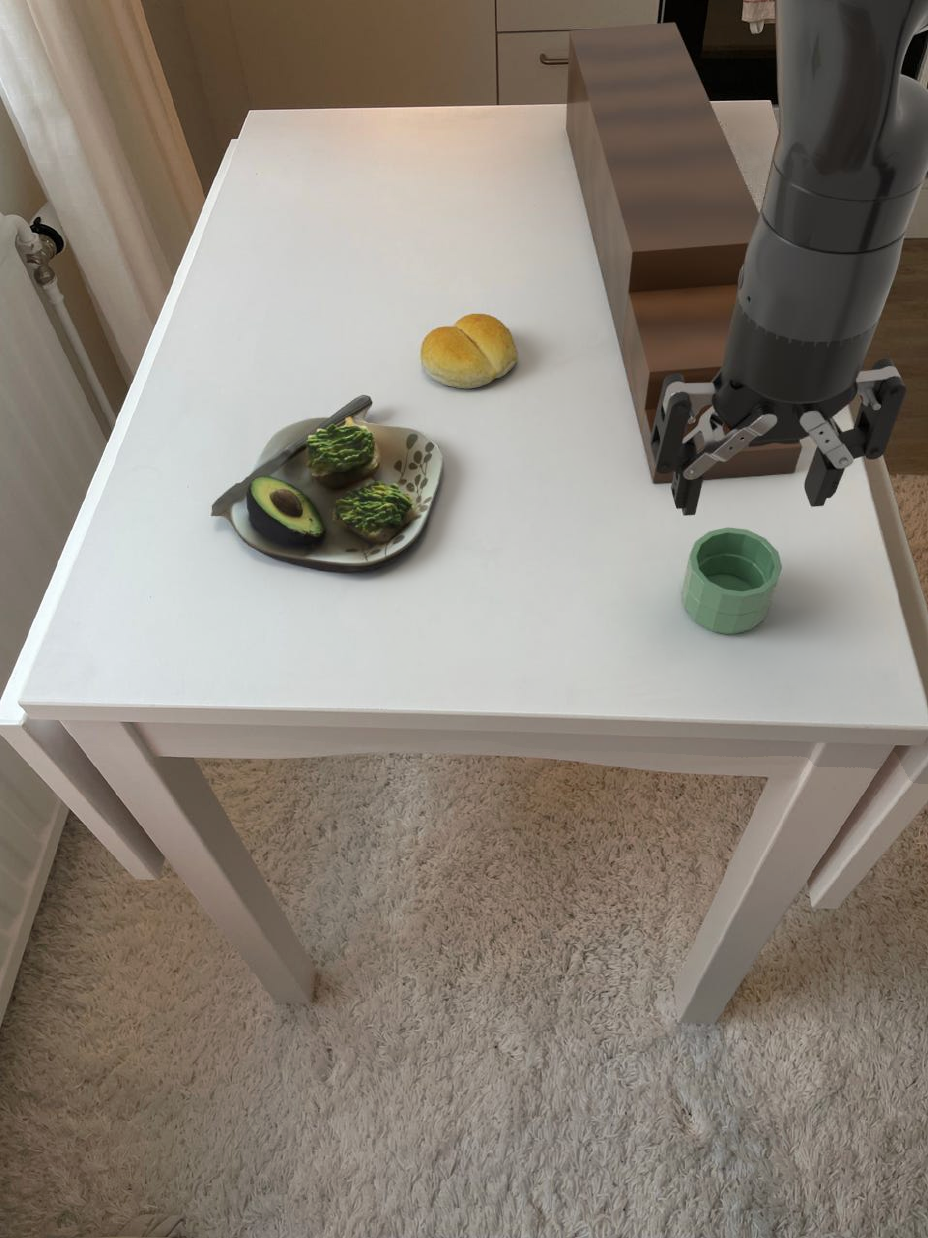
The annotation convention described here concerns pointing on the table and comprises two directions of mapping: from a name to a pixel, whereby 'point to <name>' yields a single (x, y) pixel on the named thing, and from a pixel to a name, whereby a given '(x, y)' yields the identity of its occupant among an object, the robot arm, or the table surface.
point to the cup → (730, 580)
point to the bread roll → (469, 352)
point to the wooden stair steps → (662, 217)
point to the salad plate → (336, 492)
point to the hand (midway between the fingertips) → (749, 501)
